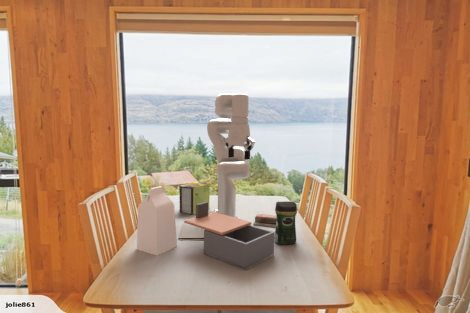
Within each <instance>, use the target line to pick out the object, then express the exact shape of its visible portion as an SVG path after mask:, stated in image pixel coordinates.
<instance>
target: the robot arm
mask: <svg viewBox="0 0 470 313" xmlns="http://www.w3.org/2000/svg"><path fill="white" fill-rule="evenodd" d="M214 105H215V106H214V107H215V108H214V113H215V115H216V116H217V117H218V118H215V119H210V120H209V121H208V123H207V126H206V129H207V130H206V132H207V135H208V138H209V140H210V142H211V143H212V146H213V149H214V150H213V151H214V153H215V158H216V160H217V162H218V164H217V165H216V169H215V170H216V177H217V209H214V211H213V212H217V213H220V214H224V215H228V216H231V217H235V218H238V219H239V217H238V216H236V211H237V209H236V206H237V205H236V204H237V203H236V202H237V199H236V198H237V187H236V185H235V183H233V181H234V180H245V179H248V178H249V177H250V174H251V171H250V170H251V169H250V165H249V160H250V159H251V151H253V150H252V149H253V148H254V147H255V146H254V145H255V144H256V141H255V140H254V139H252V138H251V132H250V124H249V95H248V94H247V93H237V92H235V93H226V92H225V93H219V94H218V95H216V98H215V101H214ZM224 135H227V137H225V136H224ZM232 180H233V181H232Z"/></svg>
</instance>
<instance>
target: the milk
mask: <svg viewBox="0 0 470 313" xmlns="http://www.w3.org/2000/svg"><path fill="white" fill-rule="evenodd" d="M137 208H138V209H137V228H136V229H137V232H136V233H137V234H136V250H138V251H141V252H144V253H148V254H150V255H154V256H160V255H161V254H163V253H165V252H168V251H169V250H172V249H174V248H176V247H178V244H177V241H178V240H177V228H176V211H175V209H176V208H175V203H174V202H173V201H172V199H171V198H170V197H169V196H168V195H167V194H166V193H165V190H164V187H163V185H162V186H160V185H159V186H156V187H151V188H149V190H148V194H147V196H146V197H144V199H143V200H142V201H141V202H140V203H139V204H138V207H137Z"/></svg>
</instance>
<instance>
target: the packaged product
mask: <svg viewBox="0 0 470 313" xmlns="http://www.w3.org/2000/svg"><path fill="white" fill-rule="evenodd" d="M253 226H257V227H266V228H267V227H268V228H275V229H276V215H273V214H264V213H257V214H256V215H255V217H254V221H253Z"/></svg>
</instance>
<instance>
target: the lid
mask: <svg viewBox="0 0 470 313" xmlns="http://www.w3.org/2000/svg"><path fill="white" fill-rule="evenodd" d="M183 223H184V224H188V225H189V226H190V225H191V226H194V227H196V228H199V229H201V230H208V231H211V232H214V233H217V234H220V235H224V234H227V233H229V232H232V231H235V230H237V229H240V228H243V227H245V226H248V225H252V221H248V220H245V219H241V218H239V217H238V218H235V217H231V216H228V215H224V214H220V213H217V212H214V211H212V212H209V209H208V202H203V203H199V204H196V214H195V217H191V218H188V219H185V220H184V222H183Z"/></svg>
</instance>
